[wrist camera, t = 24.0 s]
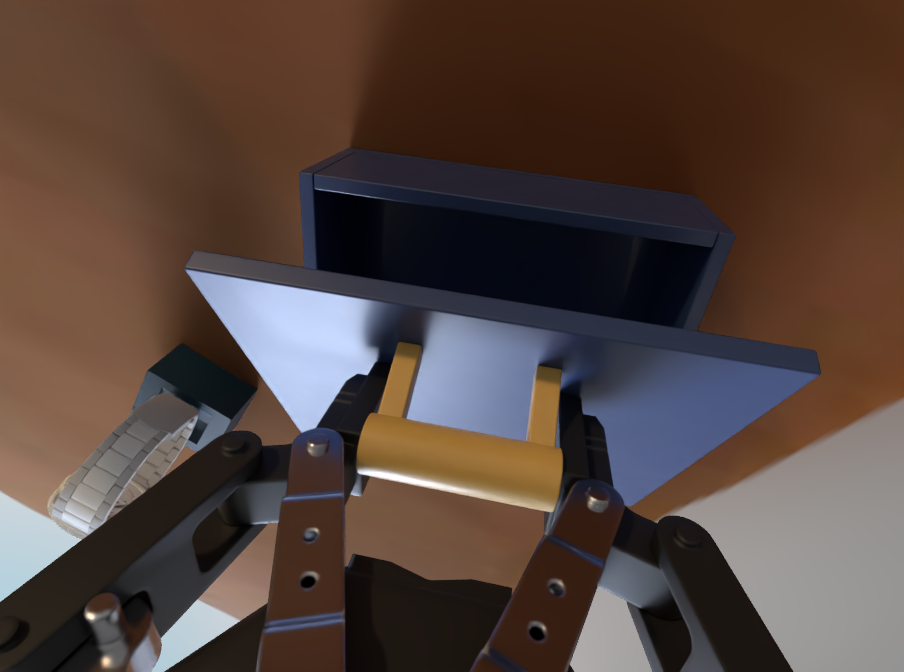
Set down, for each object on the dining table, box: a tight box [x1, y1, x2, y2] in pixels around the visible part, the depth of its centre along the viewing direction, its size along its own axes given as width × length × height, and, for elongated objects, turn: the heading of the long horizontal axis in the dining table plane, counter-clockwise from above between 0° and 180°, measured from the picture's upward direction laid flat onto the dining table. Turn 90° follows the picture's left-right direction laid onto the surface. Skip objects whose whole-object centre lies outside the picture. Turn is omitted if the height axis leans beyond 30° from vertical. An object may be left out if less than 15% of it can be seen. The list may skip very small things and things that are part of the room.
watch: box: [48, 343, 257, 539], centre depth 28 cm, size 6×8×11 cm
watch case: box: [299, 148, 736, 331], centre depth 24 cm, size 13×16×6 cm
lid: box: [184, 250, 821, 512], centre depth 17 cm, size 14×16×4 cm
